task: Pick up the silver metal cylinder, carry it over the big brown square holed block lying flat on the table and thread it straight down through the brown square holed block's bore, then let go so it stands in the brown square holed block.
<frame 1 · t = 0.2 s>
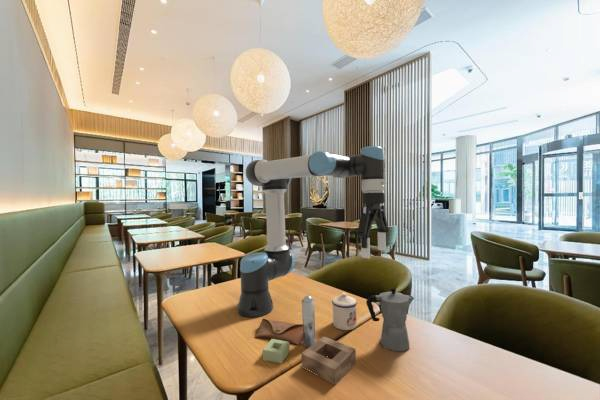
hand: (374, 253, 87), 28 cm above the table, fingers open, 13 cm apart
sunglasses case: (280, 337, 88), on the table
pale green holed block: (276, 355, 77), on the table
coffeepot: (391, 344, 81), on the table
brown square holed block: (329, 365, 72), on the table
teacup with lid: (346, 323, 95), on the table
silver metal cylinder: (309, 343, 83), on the table
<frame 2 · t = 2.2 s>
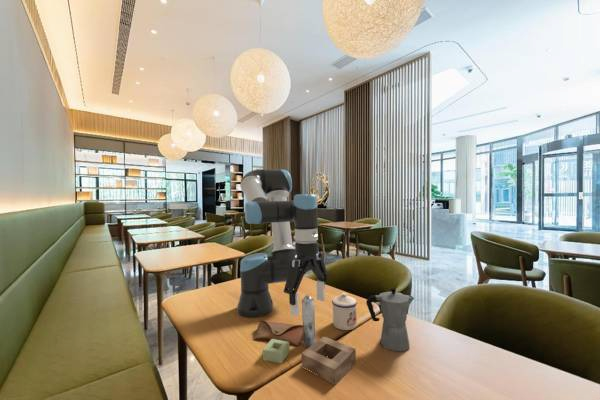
hand: (308, 307, 82), 12 cm above the table, fingers open, 13 cm apart
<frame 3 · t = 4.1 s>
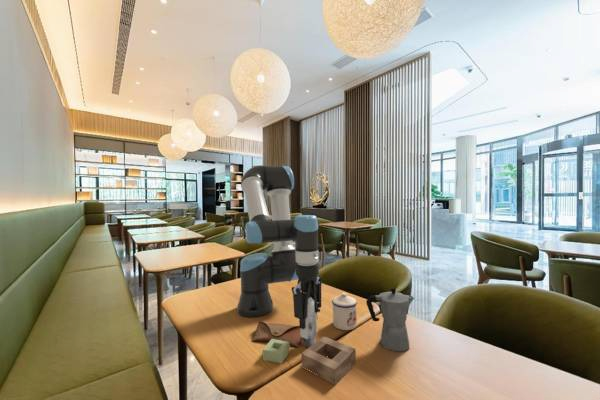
hand: (309, 334, 83), 3 cm above the table, fingers closed on silver metal cylinder, 4 cm apart
silver metal cylinder: (309, 343, 83), on the table, touching gripper
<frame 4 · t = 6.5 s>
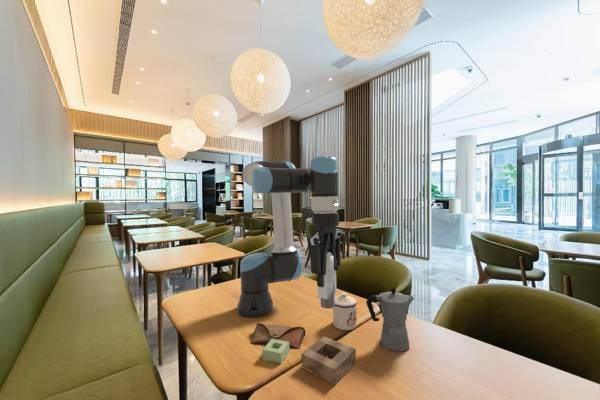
hand: (327, 294, 71), 20 cm above the table, fingers closed on silver metal cylinder, 4 cm apart
silver metal cylinder: (327, 305, 71), point 17 cm above the table, touching gripper
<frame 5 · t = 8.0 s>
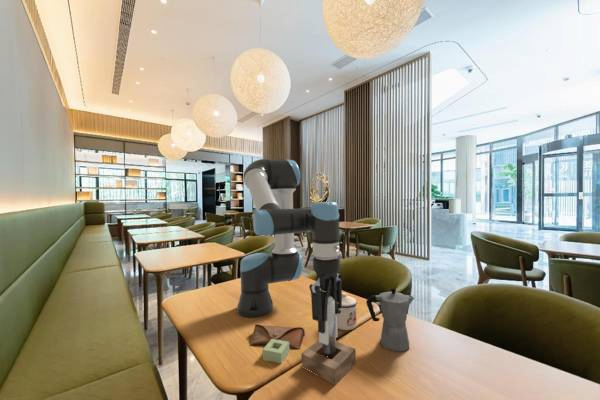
hand: (328, 338, 72), 7 cm above the table, fingers closed on silver metal cylinder, 4 cm apart
silver metal cylinder: (328, 349, 72), point 4 cm above the table, touching gripper
when the fingers open (5 cm above the table, at t = 9.0 s): silver metal cylinder drops 2 cm, resting in brown square holed block.
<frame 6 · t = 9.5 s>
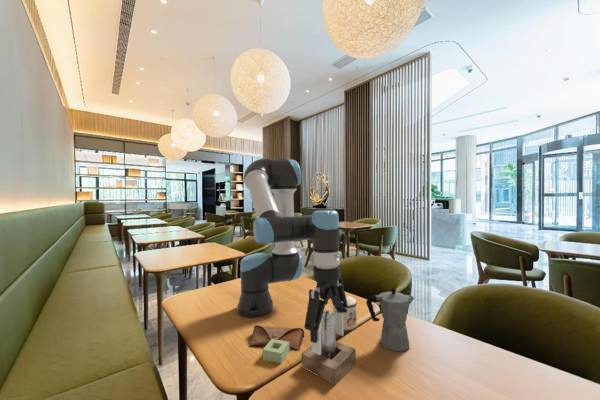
hand: (328, 342, 72), 6 cm above the table, fingers open, 11 cm apart
silver metal cylinder: (328, 365, 72), resting in brown square holed block
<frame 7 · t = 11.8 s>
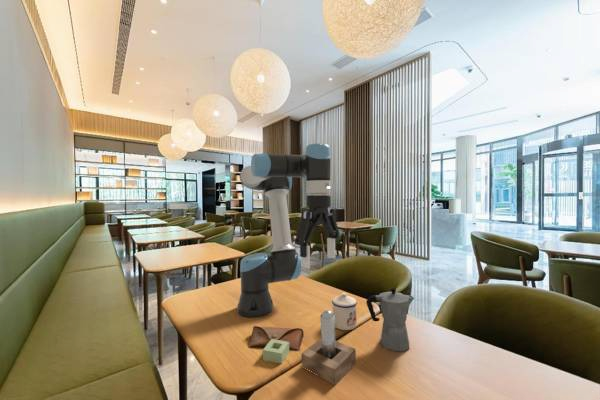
hand: (319, 262, 79), 27 cm above the table, fingers open, 13 cm apart
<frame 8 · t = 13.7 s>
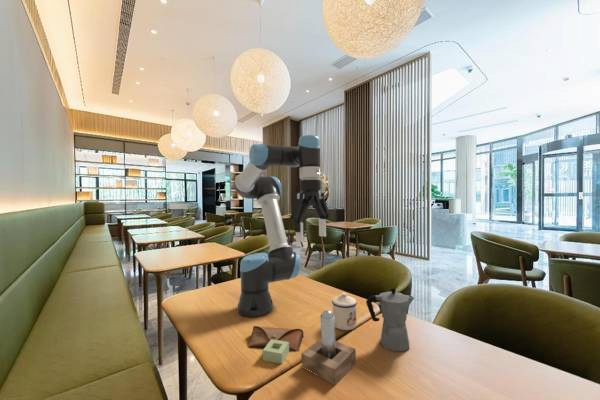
hand: (311, 238, 91), 33 cm above the table, fingers open, 13 cm apart
at the end: silver metal cylinder 0.1 cm off-centre on the brown square holed block, point 0.0 cm above the brown square holed block's base; silver metal cylinder tilted 0°; the gripper is holding nothing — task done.
